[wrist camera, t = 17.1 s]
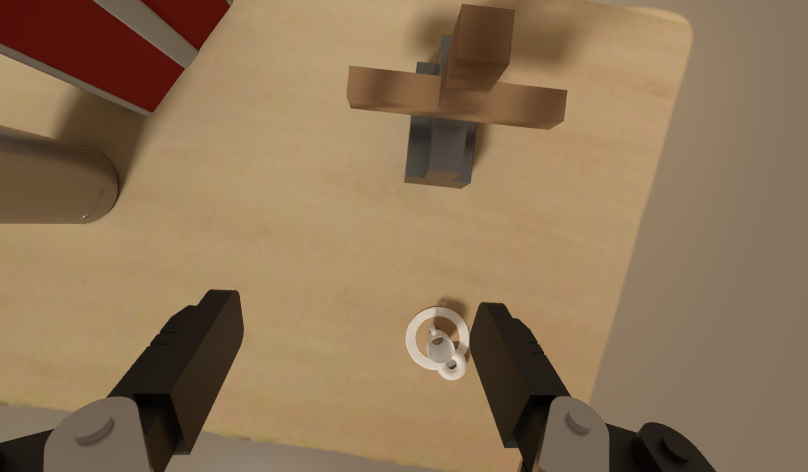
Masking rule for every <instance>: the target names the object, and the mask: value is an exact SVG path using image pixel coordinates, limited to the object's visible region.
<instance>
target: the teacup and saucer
mask: <svg viewBox="0 0 808 472" xmlns="http://www.w3.org/2000/svg"><path fill="white" fill-rule="evenodd" d="M434 316H441V317H445V318H448V319H449V320H451V321H452V322H453V323H454V324H455V325H456V326H457V328H458V331H459V334H460V342H459V345H458V348H457V350H456V349H455V348H454V345H453V343H452V341H451V339H450V338H449V337H448V335H447V334H446V333H444V332H443V331H441V330H436V329H435V327H434V324H430V325H429V328H430V330H431V332H430V333H429V335H428V337H427V341H426V346H427V354H428V356H429V358H430V359H428V358H426V357H425V356H423V355H422V354H421V353H420V351H419V350H418V348H417V346H416V342H415V335H416V331H417V329H418V327H419V326H420V324H421V323H422V322H423V321H425V320H426V319H428V318H430V317H434ZM438 337H443V341H442V343H440V344H438V345H435V344H433V343H431V341H432V340H434V339H435V338H438ZM406 346H407V349H408V352H409V354H410V356H411V357H412V358H413V360H414V361H415V362H416V363H418V364H419V365H421V366H422V367H424V368H427V369H431V370H438V372H439V373H440V375H441V376H443V377H444V378H445V379H448V380H456V379H459V378H460V377H462V376H463V375H464V373H465V371H466V368H467V362H466V359H465V356H464V355H465V353H466V351H467V349H468V346H469V331H468V327H467V325H466V323H465V321H464V320H463V319H462V317H461V316H460V315H459V314H457V313H456V312H454V311H453V310H451V309H448V308H444V307H432V308H428V309H425V310H423V311H421V312H420V313H418V314H417V315H416V316H415V317H414V318H413V319H412V321H411V322H410V324H409V326H408V328H407V332H406ZM455 364H457V365H456V367H455V368H454V369H449V368H450V367H452V366H454V365H455Z"/></svg>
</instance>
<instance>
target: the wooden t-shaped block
mask: <svg viewBox="0 0 808 472" xmlns="http://www.w3.org/2000/svg"><path fill="white" fill-rule="evenodd" d="M514 13H515V10H509V9H500V8H492V7H484V6H475V5H467V4H462V6H461V9H460V13H459V16H458V20H457V23H456V26H455V30H454V33H453V36H452V40H451V43H450V46H449V50H448V53H447V56H446V60H445V63H444V67H443V70H442V74H441V76H436V75H427V74H418V73H409V72H401V71H392V70H383V69H374V68H365V67H356V66H349V76H348V87H347V99H348V102H349V104H350V107H351V108H353V109H362V110H371V111H380V112H389V113H399V114H408V115H417V116H426V117H435V118H444V119H454V120H463V121H472V122H481V123H490V124H499V125H509V126H518V127H527V128H536V129H545V130H550V129H551V128H553V127H555V126H556V125H558V124H559V123H561V122H563V121H564V115H565V106H566V97H567V90H560V89H551V88H542V87H534V86H525V85H516V84H507V83H498V82H497V80H498V79H499V78H500V76H501V75H502V73H503V72H504V71H505V69H506V68H507V66H508V65H509V59H510V50H511V41H512V32H513V22H514Z"/></svg>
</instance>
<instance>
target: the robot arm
mask: <svg viewBox="0 0 808 472" xmlns="http://www.w3.org/2000/svg"><path fill="white" fill-rule="evenodd" d="M117 194H118V180H117V175H116V173H115V170H114V168H113V166H112V165H111V163H110V162H109V161H108V160H107V159H106V158H105V156H103V155H102V154H100V153H99V152H98V151H96V150H93V149H91V148H88V147H84V146H80V145H76V144H72V143H68V142H64V141H60V140H56V139H53V138H49V137H45V136H41V135H37V134H33V133H29V132H25V131H21V130H17V129H13V128H9V127H5V126H1V125H0V224H85V223H90V222H93V221H96V220H98V219H100V218H101V217H103V216H104V215H105V214H107V212H108V211H109V210H110V209H111V208H112V206H113V204H114V202H115V200H116V197H117ZM243 333H244V325H243V318H242V310H241V303H240V296H239V292H238V291H236V290H215V289H211V290H209V291H208V292H207V293H206V294H205V296H204V297H203V298H202V300H201V301H200V303H199V304H198V305H197V306H193V305H188V306H187V307H185V308H184V309H182V310H181V311H179V312H178V313H177V314H175V315H174V316H172V317H171V318H170V319H169V321H168V322H167V323H166V324H165V326H164V327H163V328H162V329H161V331H160V334H157V335H156V337H155V338H154V339H153V340H152V342H151V343H150V346H148V347H147V348H146V349H145V350H144V352H143V353H142V354H141V355H140V357H139V358H138V359H137V360H136V362H135V363H134V364H133V365H132V367H131V368H130V369H129V370H128V371H127V373H126V374H125V375H124V376H123V378H122V379H121V380H120V381H119V383H118V384H117V385H116V386H115V388H114V389H113V390H112V391H111V393H110V394H109V395H108V396H107V397H106V398H104V399H100V400H97V401H95V402H92V403H90V404H88V405H85V406H84V407H82V408H80V409H78V410H76V411H75V412H74V413H72V414H71V415H69V416H68V417H67V418H65V419H64V420H63V421H62V422H61V423H60V424H59V425H58V426H57V427H56V428H55V429H51V430H48V431H44V432H41V433H37V434H33V435H29V436H25V437H21V438H18V439H14V440H10V441H6V442H2V443H0V472H164V471H165V469H166V467H167V465H168V463H169V461H170V459H171V457H172V455H189V454H190V453H191V450H192V448H193V446H194V444H195V442H196V440H197V438H198V435H199V433H200V431H201V429H202V427H203V425H204V423H205V421H206V419H207V416H208V414H209V412H210V410H211V408H212V406H213V404H214V402H215V399H216V397H217V395H218V393H219V391H220V389H221V387H222V385H223V382H224V380H225V378H226V376H227V374H228V372H229V370H230V367H231V365H232V363H233V361H234V359H235V357H236V355H237V353H238V350H239V348H240V346H241V343H242V339H243ZM469 345H470V351H471V355H472V357H473V360H474V363H475V366H476V369H477V371H478V374H479V377H480V380H481V383H482V386H483V388H484V391H485V394H486V397H487V400H488V402H489V405H490V408H491V411H492V414H493V417H494V419H495V422H496V425H497V428H498V431H499V434H500V436H501V439H502V442H503V445H504V448H519V450H520V453H521V455H522V458H521V460H520V463H519V466H518V470H517V472H716V471H715V470H714V469H713V467H712V466H711V465H710V463H709V462H708V461H707V460H706V459H705V457H704V456H703V455H702V454H701V452H700V451H699V450H698V449H697V448H696V447H695V446H694V445H693V444H692V443H691V442H690V441H689V440H688V439H687V438H685V437H684V436H683V435H681V434H680V433H679V432H677V431H675V430H674V429H672V428H670V427H668V426H665V425H663V424H659V423H654V422H650V423H646V424H645V425H643V427H642V428H641V429H640V430H639V432H638V433H636V432H633V431H629V430H626V429H623V428H620V427H616V426H613V425H610V424H606V423H604V421H603V420H602V418H601V417H600V416H599V415H598V414H597V413H596V412H595V411H594V410H593V409H592V408H591V407H590V406H588V405H587V404H586V403H584V402H582V401H580V400H578V399H576V398H573V397H571V396H570V394H569V392H568V391H567V389H566V387H565V386H564V384H563V383H562V381H561V379H560V378H559V376H558V374H557V373H556V371H555V369H554V368H553V366H552V365H551V363H550V361H549V360H548V358H547V356H546V355H544V352H543V350H542V348H541V347H540V345H538V342H537V340H536V339H535V337H534V335H533V334H532V332H531V330H530V329H529V328H528V327H527V326H526V325H524V324H523V323H522V322H521V321H520V320H519V319H517V318H512V316H511V315H510V313H509V311H508V309H507V308H506V306H505V305H504V304H503V303H489V302H481V303H480V305H479V307H478V310H477V313H476V316H475V320H474V323H473V326H472V329H471V333H470V338H469Z"/></svg>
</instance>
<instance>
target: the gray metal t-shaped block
mask: <svg viewBox="0 0 808 472" xmlns="http://www.w3.org/2000/svg"><path fill="white" fill-rule="evenodd" d="M451 40H452V36H446V35H443V38H442V42H441V46H440V50H439V55H438V59H437V63H436V64H433V63H424V62H417V68H416V73H418V74H427V75H436V76H441V74H442V70H443V67H444V63H445V60H446V56H447V53H448V50H449V46H450V43H451ZM476 129H477V122H472V121H463V120H454V119H444V118H435V117H426V116H417V115H411V122H410V131H409V141H408V150H407V160H406V170H405V179H404V182H405V183H414V184H423V185H432V186H441V187H451V188H460V189H461V188H463V187H465V186H466V185H468V184H470V183H471V174H472V165H473V156H474V147H475V138H476Z"/></svg>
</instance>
